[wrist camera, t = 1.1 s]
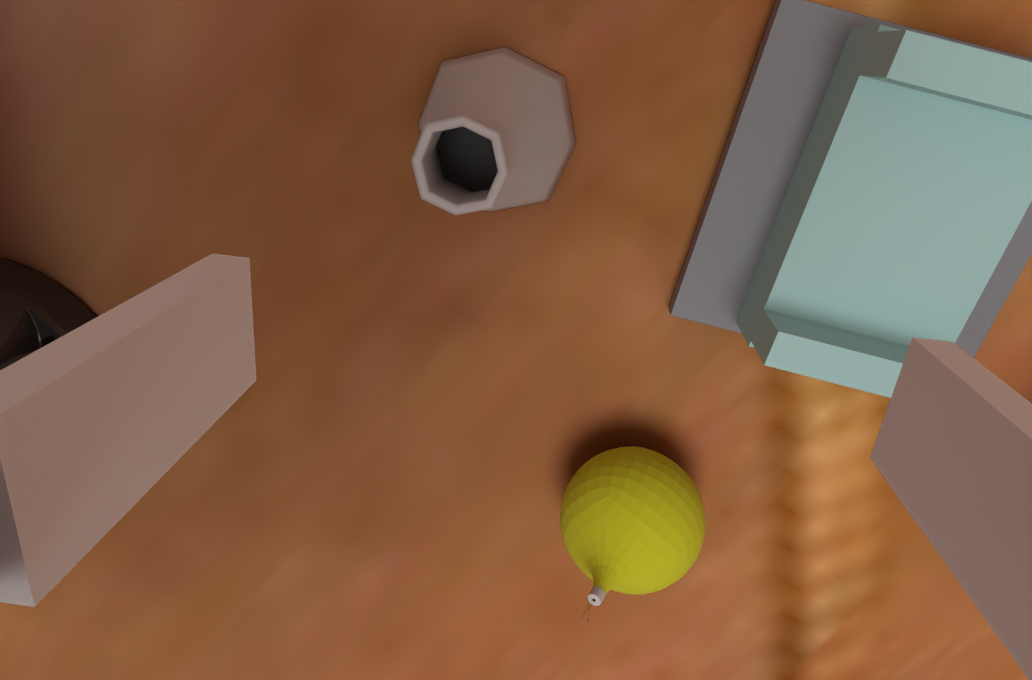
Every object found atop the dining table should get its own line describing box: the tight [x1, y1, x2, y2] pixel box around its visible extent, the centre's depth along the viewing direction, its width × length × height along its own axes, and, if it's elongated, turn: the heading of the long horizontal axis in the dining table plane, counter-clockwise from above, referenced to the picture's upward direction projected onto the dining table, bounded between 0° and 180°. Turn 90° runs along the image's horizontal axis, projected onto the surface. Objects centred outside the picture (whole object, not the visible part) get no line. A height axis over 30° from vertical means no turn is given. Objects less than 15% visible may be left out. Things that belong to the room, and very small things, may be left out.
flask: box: [411, 47, 576, 215], centre depth 27 cm, size 7×7×10 cm
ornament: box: [560, 446, 705, 623], centre depth 33 cm, size 7×7×10 cm
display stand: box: [669, 0, 1032, 398], centre depth 28 cm, size 14×14×6 cm
